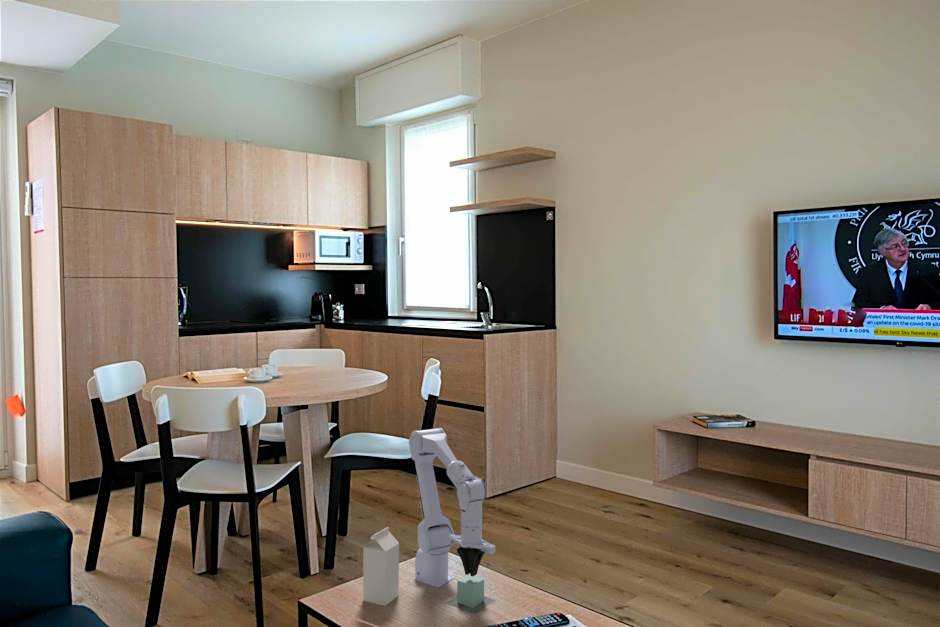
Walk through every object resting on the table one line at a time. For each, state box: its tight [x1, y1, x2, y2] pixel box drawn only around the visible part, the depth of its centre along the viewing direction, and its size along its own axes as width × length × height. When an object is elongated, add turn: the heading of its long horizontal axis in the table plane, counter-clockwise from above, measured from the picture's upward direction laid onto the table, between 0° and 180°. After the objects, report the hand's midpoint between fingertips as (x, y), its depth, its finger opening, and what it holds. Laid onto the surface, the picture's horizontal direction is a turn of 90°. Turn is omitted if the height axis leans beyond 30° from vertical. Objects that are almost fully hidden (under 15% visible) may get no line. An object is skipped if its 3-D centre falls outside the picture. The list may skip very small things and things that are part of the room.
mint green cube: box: [456, 574, 485, 608], centre depth 185 cm, size 5×5×6 cm
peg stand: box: [445, 595, 497, 614], centre depth 185 cm, size 10×10×5 cm
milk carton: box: [362, 526, 400, 606], centre depth 186 cm, size 7×7×19 cm
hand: (471, 574), depth 185 cm, fingers closed
